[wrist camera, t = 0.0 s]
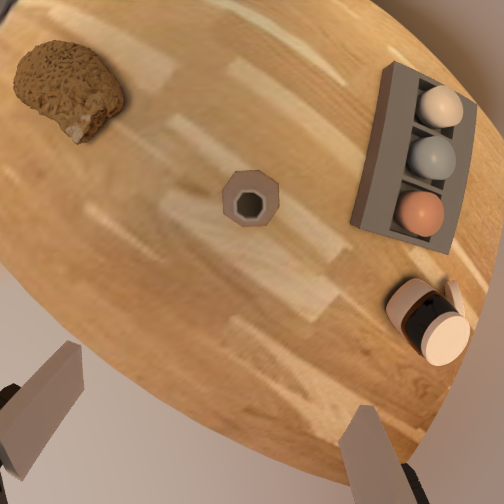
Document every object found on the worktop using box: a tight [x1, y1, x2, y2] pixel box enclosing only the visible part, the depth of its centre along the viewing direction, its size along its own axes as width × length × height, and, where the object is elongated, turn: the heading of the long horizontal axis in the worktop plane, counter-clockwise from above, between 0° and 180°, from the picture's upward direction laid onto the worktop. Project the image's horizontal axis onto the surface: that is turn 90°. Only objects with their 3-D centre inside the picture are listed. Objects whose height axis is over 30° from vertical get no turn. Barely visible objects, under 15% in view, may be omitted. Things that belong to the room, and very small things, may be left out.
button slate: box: [407, 136, 456, 180], centre depth 32 cm, size 5×5×4 cm
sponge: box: [13, 40, 124, 145], centre depth 31 cm, size 13×8×20 cm
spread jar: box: [386, 278, 470, 366], centre depth 36 cm, size 12×11×12 cm
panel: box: [350, 61, 477, 255], centre depth 35 cm, size 22×14×4 cm, turn 167°
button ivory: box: [416, 85, 463, 129], centre depth 30 cm, size 5×5×4 cm
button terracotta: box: [394, 190, 444, 237], centre depth 34 cm, size 5×5×4 cm
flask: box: [222, 170, 279, 227], centre depth 33 cm, size 7×7×10 cm
